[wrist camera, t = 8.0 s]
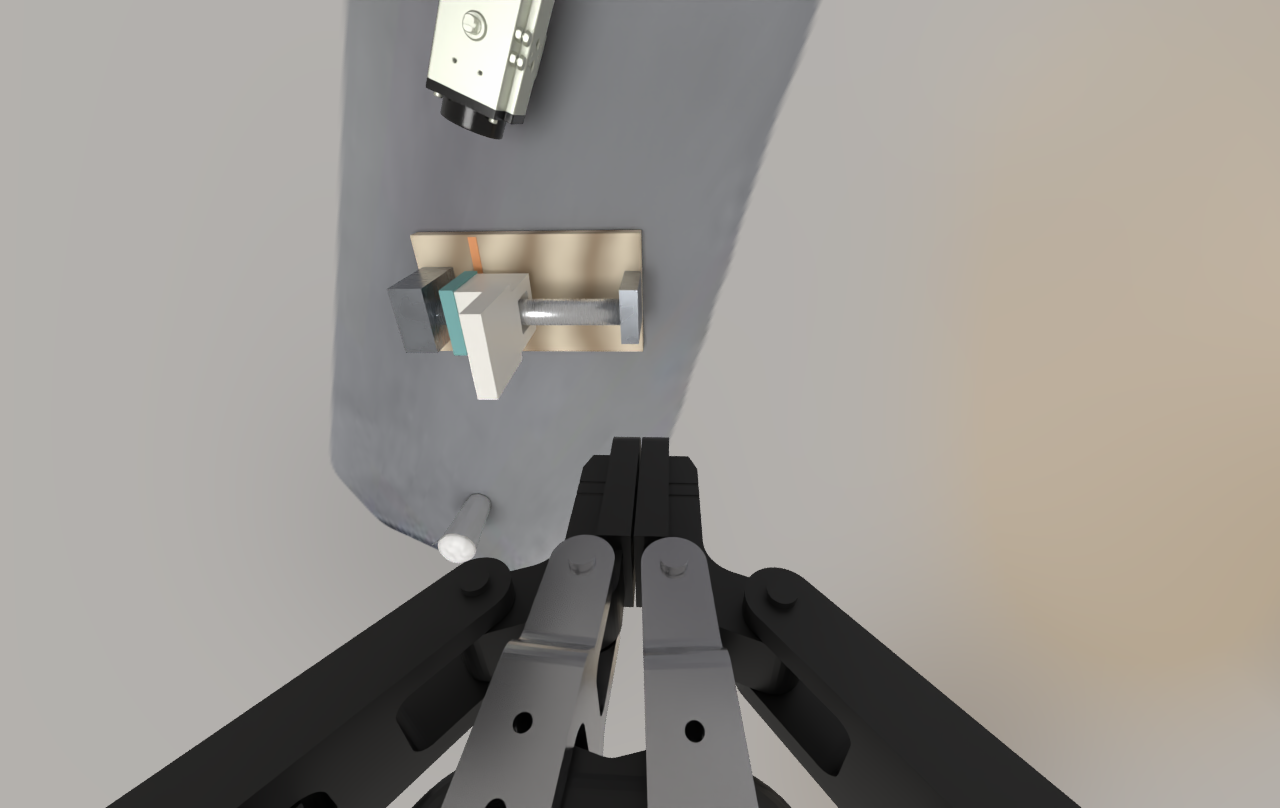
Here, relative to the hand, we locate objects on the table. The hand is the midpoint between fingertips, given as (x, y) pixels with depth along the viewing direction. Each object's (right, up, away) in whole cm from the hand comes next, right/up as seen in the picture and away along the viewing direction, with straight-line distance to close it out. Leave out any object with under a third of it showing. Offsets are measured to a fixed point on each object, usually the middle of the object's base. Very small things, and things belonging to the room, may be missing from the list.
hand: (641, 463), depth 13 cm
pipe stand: (-11, +13, +36) cm, 40 cm away
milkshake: (-22, -11, +52) cm, 57 cm away
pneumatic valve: (-9, +30, +26) cm, 41 cm away
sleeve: (-13, +12, +33) cm, 38 cm away
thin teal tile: (-16, +12, +34) cm, 39 cm away
